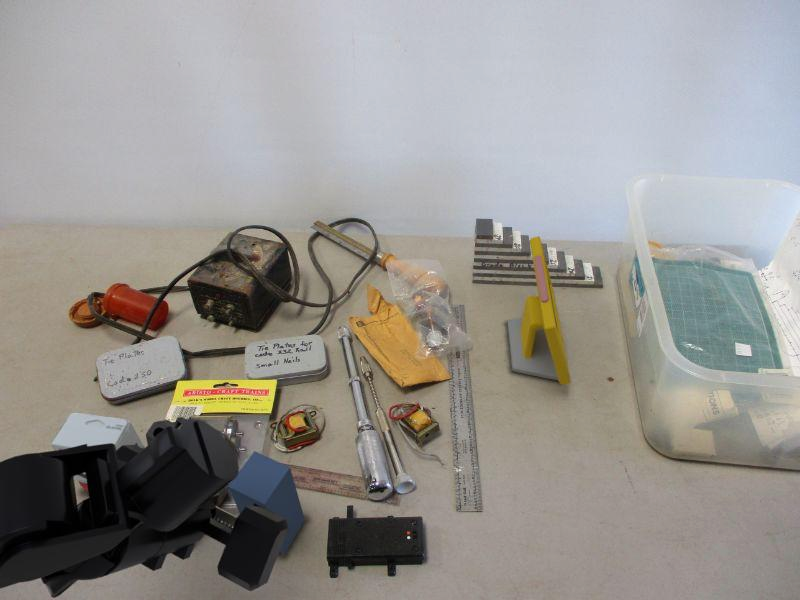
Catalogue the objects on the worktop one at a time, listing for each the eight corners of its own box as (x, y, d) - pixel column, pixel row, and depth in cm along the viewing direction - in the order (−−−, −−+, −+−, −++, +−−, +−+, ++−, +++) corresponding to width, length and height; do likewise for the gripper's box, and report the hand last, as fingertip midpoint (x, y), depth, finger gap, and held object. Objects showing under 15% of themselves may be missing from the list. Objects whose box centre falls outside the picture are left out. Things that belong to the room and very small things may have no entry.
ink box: (83, 492, 80) (45, 443, 71) (102, 460, 83) (68, 411, 75) (142, 501, 78) (110, 453, 70) (159, 469, 82) (130, 419, 74)
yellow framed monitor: (566, 398, 89) (587, 325, 78) (514, 396, 90) (527, 324, 79) (550, 306, 104) (566, 234, 93) (505, 304, 104) (515, 233, 93)
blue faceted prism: (283, 555, 73) (264, 504, 64) (250, 538, 74) (227, 486, 66) (305, 520, 76) (290, 467, 67) (273, 504, 78) (254, 450, 69)
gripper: (272, 476, 46) (338, 463, 61) (90, 390, 51) (192, 398, 66) (216, 618, 44) (297, 569, 59) (36, 514, 50) (152, 493, 65)
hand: (233, 501), depth 62 cm, fingers open, 9 cm apart
